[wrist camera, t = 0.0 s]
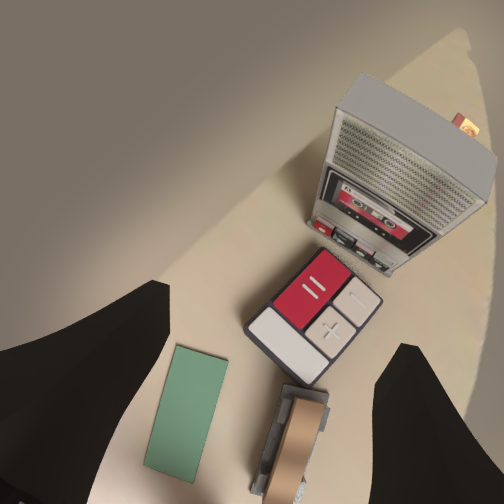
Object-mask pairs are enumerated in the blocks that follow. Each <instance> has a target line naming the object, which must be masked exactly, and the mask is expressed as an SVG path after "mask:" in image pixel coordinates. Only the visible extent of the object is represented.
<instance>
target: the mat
mask: <svg viewBox="0 0 504 504" xmlns="http://www.w3.org/2000/svg"><path fill="white" fill-rule="evenodd" d="M228 362H229V361H225V360H222V359H218V358H215V357H212V356H208V355H205V354H202V353H199V352H196V351H192V350H189V349H186V348H183V347H180V346H177V347H176V350H175V353H174V357H173V360H172V363H171V367H170V370H169V374H168V377H167V380H166V384H165V387H164V391H163V394H162V398H161V402H160V405H159V409H158V412H157V416H156V420H155V423H154V427H153V431H152V435H151V438H150V442H149V446H148V450H147V454H146V457H145V461H144V465H145V466H147V467H150V468H152V469H155V470H157V471H160V472H162V473H165V474H168V475H170V476H173V477H176V478H179V479H182V480H185V481H188V482H191V483H193V481H194V478H195V474H196V471H197V468H198V464H199V461H200V458H201V454H202V451H203V447H204V444H205V441H206V437H207V434H208V430H209V427H210V424H211V420H212V417H213V413H214V410H215V407H216V403H217V400H218V396H219V393H220V389H221V386H222V383H223V379H224V376H225V372H226V369H227V365H228Z"/></svg>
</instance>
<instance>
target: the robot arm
mask: <svg viewBox="0 0 504 504" xmlns="http://www.w3.org/2000/svg"><path fill="white" fill-rule="evenodd" d="M169 334H170V285H168V284H164V283H161V282H158V281H154V280H151V281H149V282H147V283H145V284H144V285H142V286H140V287H138V288H137V289H135V290H133V291H132V292H130V293H128V294H127V295H125V296H123V297H122V298H120V299H118V300H116V301H115V302H113V303H111V304H109V305H108V306H106V307H104V308H102V309H101V310H99V311H97V312H95V313H93V314H91V315H89V316H87V317H86V318H83V319H82V320H80V321H78V322H76V323H74V324H72V325H70V326H68V327H66V328H64V329H61V330H59V331H57V332H55V333H52V334H50V335H47V336H45V337H43V338H40V339H37V340H35V341H32V342H29V343H26V344H22V345H19V346H16V347H13V348H10V349H7V350H3V351H0V504H87V501H88V497H89V494H90V491H91V488H92V485H93V482H94V480H95V477H96V474H97V472H98V469H99V466H100V464H101V461H102V459H103V456H104V454H105V452H106V449H107V447H108V445H109V442H110V440H111V438H112V436H113V434H114V431H115V429H116V427H117V425H118V423H119V421H120V419H121V417H122V415H123V414H124V412H125V410H126V408H127V407H128V405H129V404H130V402H131V401H132V399H133V397H134V396H135V394H136V393H137V391H138V390H139V388H140V386H141V385H142V383H143V382H144V380H145V379H146V377H147V375H148V374H149V372H150V371H151V369H152V367H153V366H154V364H155V363H156V361H157V359H158V358H159V355H160V353H161V351H162V349H163V347H164V345H165V343H166V341H167V338H168V336H169ZM372 433H373V473H372V485H371V492H370V498H369V504H504V474H503V473H502V472H501V470H500V469H499V468H498V467H497V466H496V465H495V464H494V462H493V461H492V460H491V459H490V457H489V456H488V455H487V454H486V452H485V451H484V450H483V448H482V447H481V446H480V444H479V443H478V442H477V440H476V439H475V438H474V436H473V435H472V433H471V432H470V430H469V429H468V427H467V426H466V424H465V422H464V421H463V419H462V418H461V416H460V415H459V413H458V412H457V410H456V408H455V407H454V405H453V403H452V402H451V400H450V398H449V397H448V395H447V393H446V392H445V390H444V388H443V387H442V385H441V383H440V381H439V380H438V378H437V376H436V375H435V373H434V371H433V369H432V368H431V366H430V364H429V363H428V361H427V359H426V358H425V356H424V355H423V353H422V352H421V350H420V349H419V347H418V346H414V345H409V344H403V343H401V344H400V346H399V347H398V349H397V351H396V352H395V354H394V355H393V357H392V359H391V360H390V362H389V363H388V365H387V367H386V368H385V370H384V371H383V373H382V374H381V376H380V377H379V379H378V380H377V382H376V383H375V388H374V398H373V410H372Z"/></svg>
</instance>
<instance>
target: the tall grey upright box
mask: <svg viewBox="0 0 504 504" xmlns="http://www.w3.org/2000/svg"><path fill="white" fill-rule="evenodd" d="M497 162H498V157H497V156H496V155H495V154H493V153H492V152H491V151H490V150H488V149H487V148H486V147H484V146H483V145H482V144H480V143H479V142H478V141H476V140H475V139H474V138H472V137H471V136H470V135H468V134H467V133H465V132H464V131H463V130H461V129H460V128H458V127H457V126H455V125H454V124H452V123H451V122H449V121H448V120H446V119H445V118H443V117H442V116H440V115H439V114H437V113H435V112H434V111H432V110H431V109H429V108H427V107H426V106H424V105H423V104H421V103H419V102H417V101H416V100H414V99H412V98H411V97H409V96H407V95H405V94H404V93H402V92H400V91H398V90H396V89H395V88H393V87H391V86H389V85H387V84H385V83H383V82H381V81H379V80H377V79H375V78H373V77H371V76H369V75H367V74H365V73H363V72H362V73H361V74H360V75H359V77H358V78H357V79H356V81H355V82H354V83H353V85H352V86H351V87H350V88H349V90H348V91H347V92H346V94H345V95H344V96H343V98H342V99H341V100H340V102H339V103H338V104H337V105H336V108H335V113H334V118H333V122H332V127H331V132H330V137H329V141H328V146H327V151H326V155H325V160H324V164H323V169H322V173H321V177H320V182H319V186H318V190H317V195H316V199H315V203H314V207H313V211H312V216H311V218H310V219H309V221H308V222H307V226H309V227H310V228H312V229H313V230H315V231H317V232H318V233H320V234H321V235H323V236H325V237H326V238H328V239H329V240H331V241H333V242H334V243H336V244H337V245H339V246H340V247H342V248H344V249H345V250H347V251H348V252H350V253H351V254H353V255H354V256H356V257H358V258H359V259H361V260H362V261H364V262H365V263H367V264H368V265H370V266H371V267H373V268H374V269H376V270H377V271H379V272H380V273H382V274H383V275H385V276H386V277H388V278H389V277H391V276H392V274H393V272H394V270H396V269H397V268H399V267H400V266H402V265H403V264H405V263H406V262H408V261H409V260H411V259H412V258H414V257H415V256H417V255H418V254H419V253H421V252H422V251H424V250H425V249H427V248H428V247H429V246H431V245H432V244H434V243H435V242H436V241H438V240H439V239H440V238H442V237H443V236H445V235H446V234H447V233H449V232H450V231H451V230H453V229H454V228H455V227H457V226H458V225H459V224H461V223H462V222H463V221H465V220H466V219H467V218H469V217H470V216H471V215H473V214H474V213H475V212H476V211H478V210H479V209H480V208H482V207H483V206H484V205H485V204H487V202H488V199H489V195H490V191H491V187H492V183H493V179H494V175H495V171H496V167H497Z"/></svg>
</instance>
